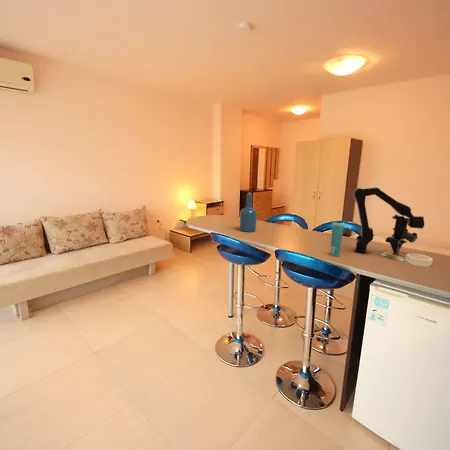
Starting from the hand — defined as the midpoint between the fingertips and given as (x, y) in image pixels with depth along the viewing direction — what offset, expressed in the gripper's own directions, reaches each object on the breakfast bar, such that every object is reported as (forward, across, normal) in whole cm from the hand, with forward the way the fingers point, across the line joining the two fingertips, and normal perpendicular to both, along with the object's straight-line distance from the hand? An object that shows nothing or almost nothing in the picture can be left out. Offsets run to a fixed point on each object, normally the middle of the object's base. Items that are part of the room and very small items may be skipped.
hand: (396, 252), depth 153 cm
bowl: (+2, -2, -12) cm, 12 cm away
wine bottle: (+3, -34, +94) cm, 100 cm away
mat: (+2, 0, 0) cm, 2 cm away
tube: (+3, -29, +21) cm, 36 cm away
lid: (+2, 0, 0) cm, 2 cm away
